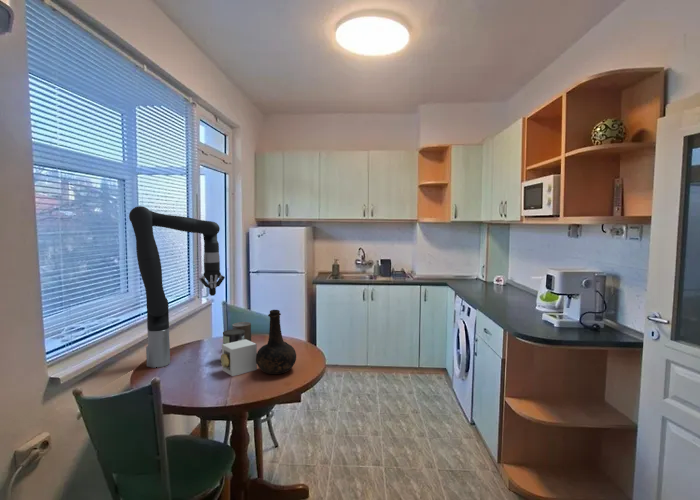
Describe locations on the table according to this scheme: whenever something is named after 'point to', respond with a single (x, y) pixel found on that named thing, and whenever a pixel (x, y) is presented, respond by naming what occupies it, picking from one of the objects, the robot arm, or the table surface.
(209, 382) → the table surface
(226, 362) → the plunger
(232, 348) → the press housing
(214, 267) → the robot arm
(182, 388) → the table surface
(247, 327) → the pillar candle
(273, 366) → the antique onion bottle
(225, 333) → the coffee can
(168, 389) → the table surface
